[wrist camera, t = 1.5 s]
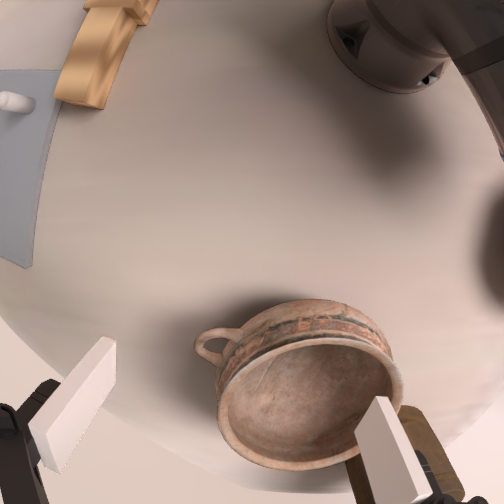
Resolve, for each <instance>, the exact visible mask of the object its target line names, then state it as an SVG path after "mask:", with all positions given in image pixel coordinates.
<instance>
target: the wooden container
mask: <svg viewBox="0 0 504 504" xmlns="http://www.w3.org/2000/svg"><path fill="white" fill-rule="evenodd" d="M397 417H398V419H399V421H400V423H401V425H402V427H403V429H404V431H405V433H406V435H407V437H408V439H409V441H410V443H411V446H412V448H413V450H419V451H420V452H421V453H422V454H423V455H424V456H425V458H426V460H427V462H428V464H429V465H428V466H430V468H431V470H432V471H431V472H433V474H434V476H435V479H436V481H437V483H438V485H439V487H440V489H441V492H442V493H443V494H448V495H450V496H452V497H453V498H454V499H455V500H456V502H461V501H462V500H463V498H464V496H465V491H464V489H463V486H462V484H461V482H460V480H459V478H458V477H457V475H456V473H455V471H454V469H453V467H452V465H451V463H450V461H449V459H448V458H447V456H446V453H445V451H444V449H443V447H442V445H441V444H440V442H439V440H438V438H437V437H436V435H435V433H434V432H433V430H432V428H431V427H430V425H429V423H428V422H427V420H426V418H425V417H424V415H423V413H422V412H421V411H420V410H419V409H417V408H415V407H411V406H401V407H400V410H399V412H398V414H397ZM345 464H346V467H347V472H348V475H349V479H350V483H351V486H352V490H353V493H354V496H355V499H356V503H357V504H376V503H375V499H374V496H373V492H372V489H371V486H370V482H369V479H368V475H367V472H366V469H365V465H364V462H363V459H362V456H361V453H360V454H358V455H356V456H354V457H352V458H350V459H348V460H346V461H345Z"/></svg>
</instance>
